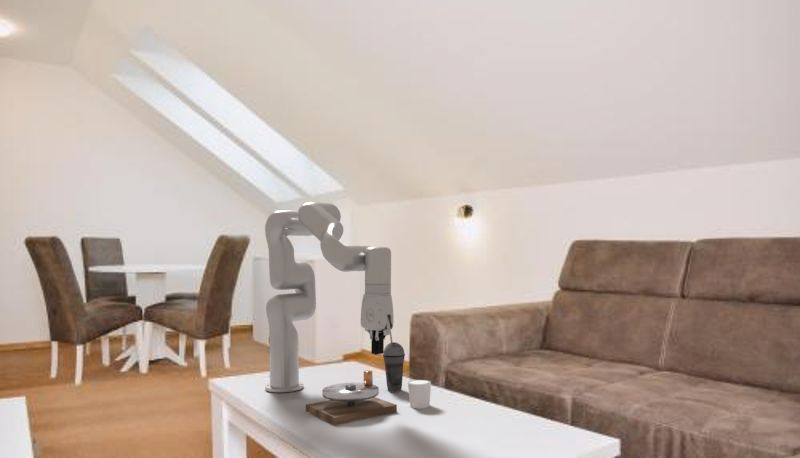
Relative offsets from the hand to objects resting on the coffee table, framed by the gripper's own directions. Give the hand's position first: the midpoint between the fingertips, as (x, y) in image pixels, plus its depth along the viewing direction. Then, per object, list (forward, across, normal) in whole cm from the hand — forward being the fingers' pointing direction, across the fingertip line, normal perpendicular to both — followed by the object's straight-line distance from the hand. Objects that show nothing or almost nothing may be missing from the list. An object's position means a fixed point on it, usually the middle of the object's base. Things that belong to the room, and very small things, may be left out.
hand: (377, 353), depth 165 cm
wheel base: (+16, -4, -6) cm, 18 cm away
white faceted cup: (+16, +5, +12) cm, 21 cm away
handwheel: (+11, -4, -6) cm, 14 cm away
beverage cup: (+17, -14, +19) cm, 29 cm away
